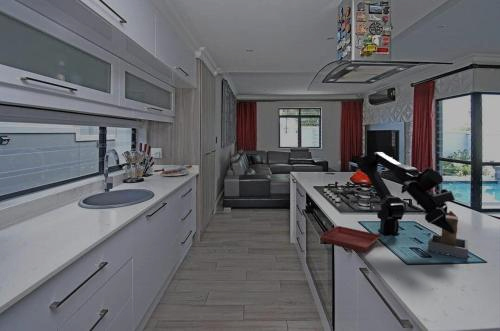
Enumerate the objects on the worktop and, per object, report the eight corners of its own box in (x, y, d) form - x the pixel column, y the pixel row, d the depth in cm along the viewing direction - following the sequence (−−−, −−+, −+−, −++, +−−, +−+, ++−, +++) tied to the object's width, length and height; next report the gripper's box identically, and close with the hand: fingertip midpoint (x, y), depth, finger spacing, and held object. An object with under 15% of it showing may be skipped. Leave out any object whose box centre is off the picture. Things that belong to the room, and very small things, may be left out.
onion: (443, 224, 140) (444, 208, 139) (457, 227, 136) (459, 210, 136) (441, 227, 136) (442, 210, 135) (456, 230, 132) (458, 213, 131)
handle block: (440, 248, 107) (443, 217, 106) (440, 245, 111) (443, 214, 110) (454, 251, 105) (457, 219, 103) (454, 248, 108) (457, 216, 107)
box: (427, 251, 107) (428, 241, 106) (430, 242, 116) (431, 233, 116) (467, 259, 100) (468, 249, 99) (466, 249, 109) (467, 240, 109)
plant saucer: (337, 232, 127) (337, 225, 127) (381, 242, 115) (381, 234, 115) (318, 243, 113) (319, 235, 113) (366, 256, 102) (366, 247, 101)
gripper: (438, 185, 100) (476, 223, 95) (441, 179, 115) (474, 211, 110) (411, 204, 105) (445, 241, 100) (417, 196, 121) (447, 227, 115)
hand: (453, 229), depth 106 cm, fingers open, 9 cm apart
